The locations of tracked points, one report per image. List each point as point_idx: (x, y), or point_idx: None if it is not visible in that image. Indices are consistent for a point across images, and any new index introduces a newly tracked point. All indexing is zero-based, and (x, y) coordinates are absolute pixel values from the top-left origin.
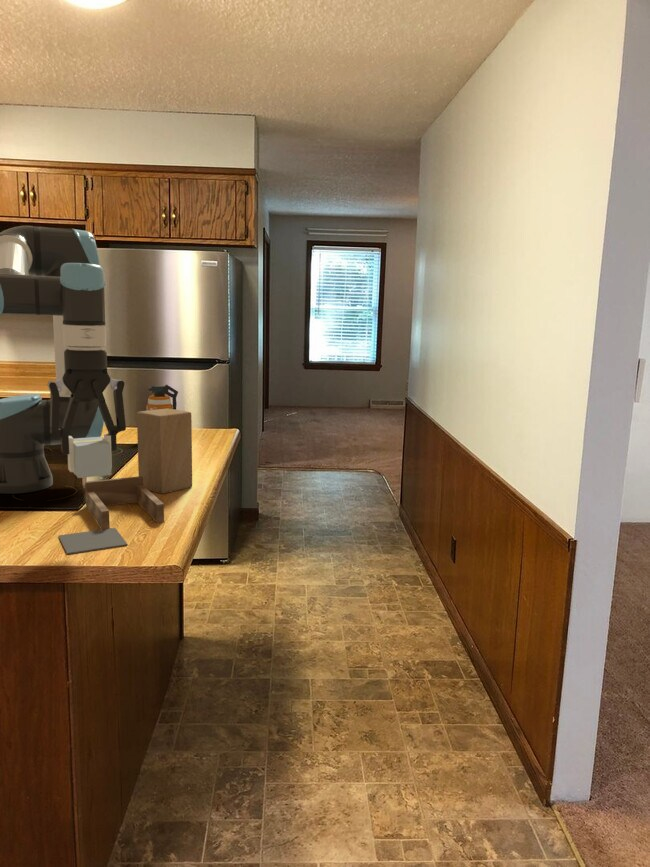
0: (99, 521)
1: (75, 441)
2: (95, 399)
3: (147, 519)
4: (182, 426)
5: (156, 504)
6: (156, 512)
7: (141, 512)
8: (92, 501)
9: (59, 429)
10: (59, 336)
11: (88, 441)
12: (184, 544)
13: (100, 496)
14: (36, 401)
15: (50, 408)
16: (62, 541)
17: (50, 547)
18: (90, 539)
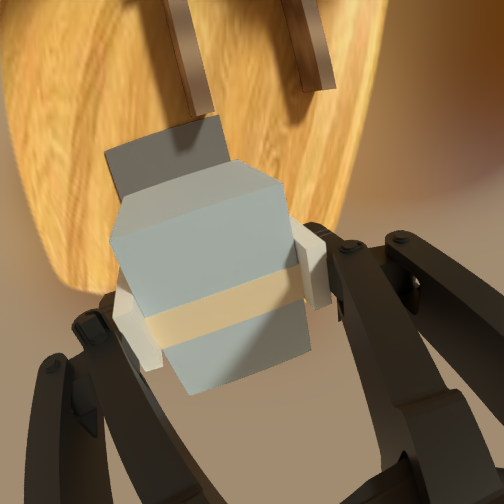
0: (185, 89)
1: (161, 319)
2: (402, 418)
3: (285, 64)
4: None
5: (321, 86)
6: (312, 86)
7: (273, 14)
8: (169, 10)
9: (95, 395)
10: None
11: (224, 318)
12: (333, 226)
13: None
14: None
15: (28, 480)
16: (119, 191)
17: (103, 213)
18: None
